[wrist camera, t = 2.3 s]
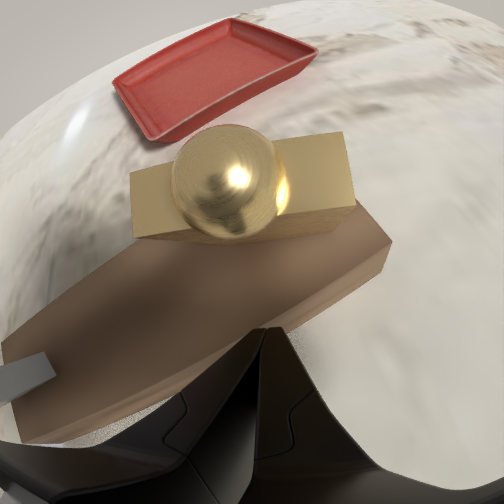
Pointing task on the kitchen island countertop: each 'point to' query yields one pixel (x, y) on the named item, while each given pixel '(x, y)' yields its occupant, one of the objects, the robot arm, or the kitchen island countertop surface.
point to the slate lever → (24, 376)
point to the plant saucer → (207, 76)
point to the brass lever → (244, 188)
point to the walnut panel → (176, 319)
